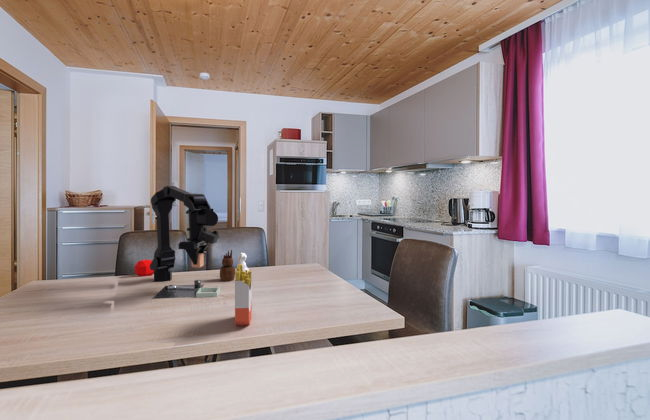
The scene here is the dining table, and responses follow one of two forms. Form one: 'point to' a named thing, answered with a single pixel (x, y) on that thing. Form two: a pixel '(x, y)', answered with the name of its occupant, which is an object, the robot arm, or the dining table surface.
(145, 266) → the red piece
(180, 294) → the base plate
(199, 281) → the crank
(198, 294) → the tray
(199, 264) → the block
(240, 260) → the sitting furry creature
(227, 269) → the wooden figurine
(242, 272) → the french fries container
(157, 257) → the robot arm
